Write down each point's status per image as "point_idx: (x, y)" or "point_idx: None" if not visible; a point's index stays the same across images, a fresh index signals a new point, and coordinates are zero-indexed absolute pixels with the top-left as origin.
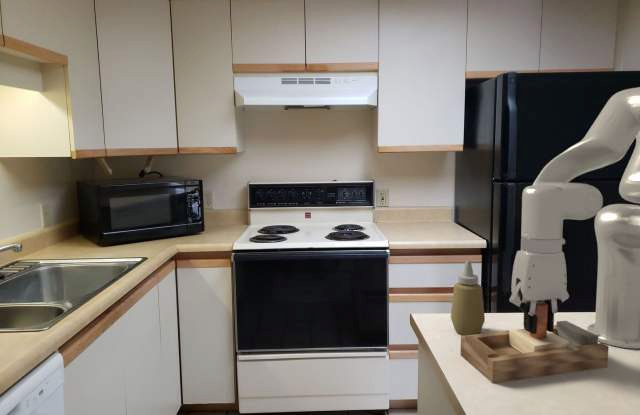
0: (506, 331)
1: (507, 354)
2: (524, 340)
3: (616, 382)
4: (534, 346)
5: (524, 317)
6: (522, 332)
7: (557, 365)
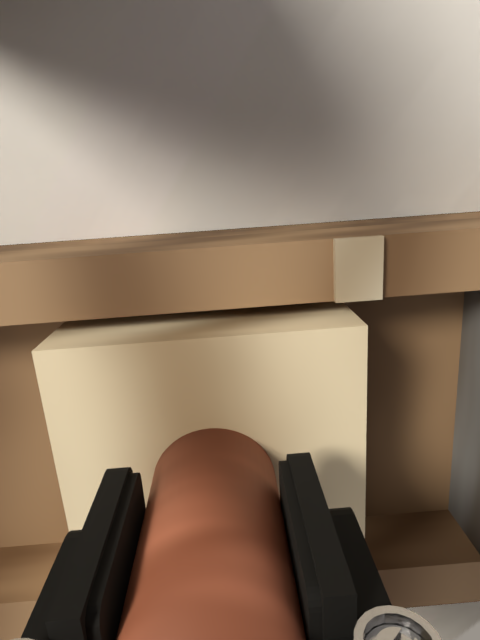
0: (54, 270)
1: (1, 431)
2: (68, 525)
3: (418, 607)
4: None
5: (37, 617)
6: (124, 410)
7: None
